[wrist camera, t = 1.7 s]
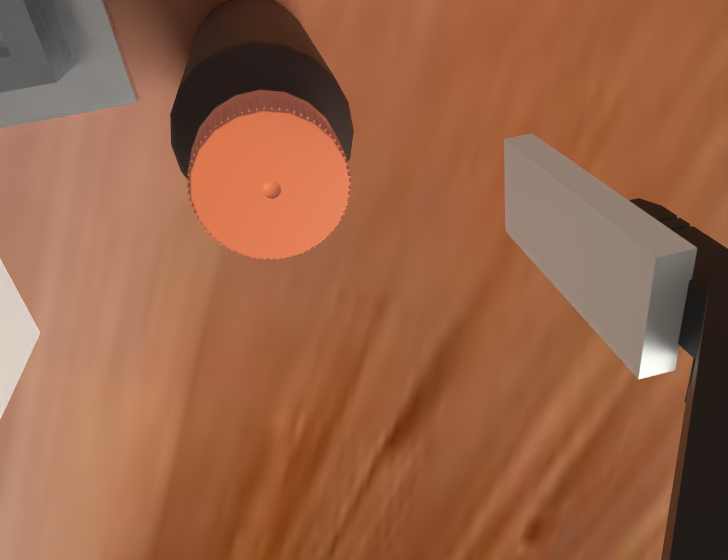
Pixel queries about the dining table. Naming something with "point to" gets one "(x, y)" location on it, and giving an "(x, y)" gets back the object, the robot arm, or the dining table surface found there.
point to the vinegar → (262, 132)
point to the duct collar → (59, 60)
